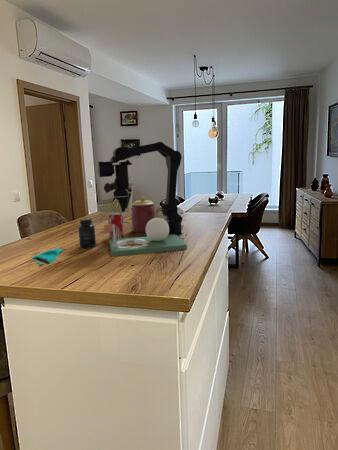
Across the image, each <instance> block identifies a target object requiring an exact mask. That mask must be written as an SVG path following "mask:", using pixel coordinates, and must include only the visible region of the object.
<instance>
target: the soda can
mask: <svg viewBox="0 0 338 450" xmlns="http://www.w3.org/2000/svg"><path fill="white" fill-rule="evenodd" d="M122 213H123V212H118V211H117V212H109V213H108V217H107V219H108V220H107V221H108V223H107V225H115V239H124V238H125V224H124V216H123V215H122ZM108 236H109V238H110V240H112V239H113V231H108Z"/></svg>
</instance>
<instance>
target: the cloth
mask: <svg viewBox="0 0 338 450" xmlns="http://www.w3.org/2000/svg"><path fill="white" fill-rule="evenodd" d="M63 251H64V250H63V249H60V248H59V247H58V248H54V249H49V250H46V251H44V252H42V253H39V254H36V255H33V256H30V258H31V260H33V262H34V263H35V264H37V265H38V266H39V267H41V266H43V265H45V264H44V263H43V264H42V263H41V262H38V260H41V261H44V262H46V263H48V264H51V263H53V262H55V261H56V260H57V258H58V257H59V254H60V253H61V252H63ZM57 256H58V257H57ZM55 257H56V258H55ZM36 259H38V260H36Z"/></svg>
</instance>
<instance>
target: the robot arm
mask: <svg viewBox="0 0 338 450" xmlns="http://www.w3.org/2000/svg"><path fill="white" fill-rule="evenodd" d="M154 152H158V153H159V154H160V155H161V156H162V157H164V158H165V164H166V167H167V181H166V194H165V195H166V198H165V201H164V202H161V210H160V211H161V213H162V215H163V217H164V218H165V219H166V222H167V223H168V226H169V234H168V235H172V234H175V235H183V232H182V222H183V217H182V215H180V214H179V212H178V211H179V209H178V204H177V201H176V196H177V181H178V170H179V168H180V166H181V163H182V158H183V157H182V153H181V152H180V151H178V150H174V149H173V148H171V147H170V146H168V145H167V144H165V143H164V142H163V141H156V142H155V143H150V144H149V143H148V144H143V145H138V146H119V147H115V148H114V150H113V152H112V157H111V158H110V159H109V161H98V162H97V174H98V178H107V177H113V175H115V178H114V182H112V183H110V182H106V183H105V184H104V186H103V190H104V191H105V193H106V194H108V193H110V192H112V191H113V194H112V195H113V198H114V199H116V200H117V202H118V204H119V206H120V209H121V213H123V212H125V211H126V209H127V208H128V207H129V203H130V200H131V197H132V193H133V188H132V186H130V177H129V167H128V166H132V165H133V163H132V162H131V161H130V160H129V158H133V157H135V156H136V155H143V154H148V153H154ZM124 160H125V161H124Z"/></svg>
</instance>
